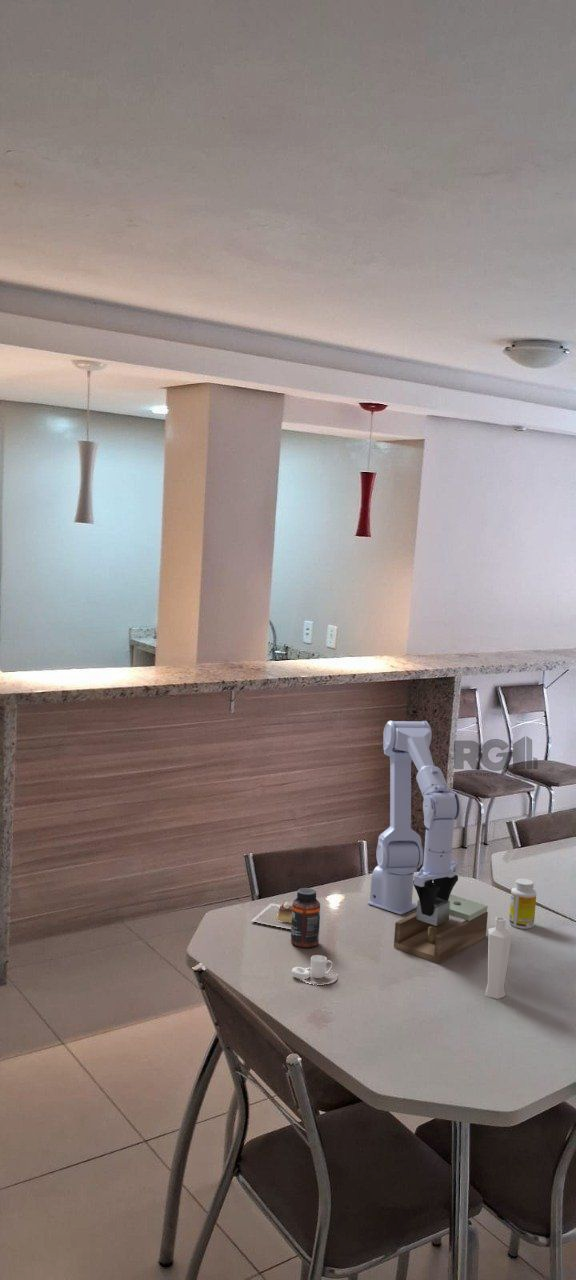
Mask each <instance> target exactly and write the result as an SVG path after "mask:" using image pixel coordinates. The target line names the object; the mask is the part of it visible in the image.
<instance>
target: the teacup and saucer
mask: <svg viewBox="0 0 576 1280" xmlns="http://www.w3.org/2000/svg"><path fill="white" fill-rule="evenodd" d="M327 958H328V957H326V956H325V955H322V954H321V955H320V954H316V955H314V954H313V955H312V956H311V957H310V966H309V967H301V966H294V967H293V968H292V969H291V975H292V976H293V977H294V978H296V979H299V980H300V979H301V980H302V979H306V980H308V979H309V978H310V977H311V976H313V977H314V979H315V978H321V979H323V978H324V977H325V976H326V975H327V974H328V972H329V971H330V970H331V971H332V968H333V961H331V960H329V959H327ZM328 963H330V964H331V965H330V967H329V968H328V969H329V970H328V971H327V972H325V970H326V969H327V964H328ZM309 968H310V969H311V971H308V970H307V969H309ZM336 975H337V976H338V974H337V973H336ZM313 977H312V978H313ZM322 977H323V978H322ZM301 980H300V981H301ZM302 981H303V982H302ZM302 981H301V982H302V983H304V982H305V981H304V980H302ZM307 983H309V982H305V984H307ZM310 984H311V983H309V984H308V985H310ZM317 985H318V984H317ZM317 985H316V986H317ZM323 985H324V984H323ZM312 986H315V985H314V984H313V985H312Z"/></svg>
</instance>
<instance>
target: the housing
mask: <svg viewBox="0 0 576 1280" xmlns="http://www.w3.org/2000/svg"><path fill="white" fill-rule="evenodd" d="M488 913H489V912H488V911H487V912H485V913H483V914H482V915H480V916H478V917H476V918H474V919H472V920H471V921H467V920H463V921H461V922H460V921H456V920H454V919H450V918H449V920H447V921H445V922H443V923H441V924H439V925H438V926H435V925H432V924H429V923H426V922H423V921H421V920H418V919H416V914H417V911H416V912H414V913H411V914H410V915H408V916H406V917H403V918H401V919H399V920H397V921H395V924H394V939H393V940H394V941H393V948H395V949H397V950H399V951H402V952H405V953H409V954H411V955H414V956H416V957H418V958H419V957H420V958H421V959H425V960H426V961H430V962H433V963H436V964H438V965H439V964H441V963H442V962H444V961H446V960H448V959H450V958H451V957H453V956H454V955H457V954H458V953H459V952H461V951H463V950H465V949H467V948H469V947H470V946H472V945H473V944H475V943H478V942H479V941H480V940H482V939H484V938H486V937H487V930H488V929H487V928H488V915H489V914H488Z"/></svg>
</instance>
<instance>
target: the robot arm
mask: <svg viewBox="0 0 576 1280" xmlns="http://www.w3.org/2000/svg"><path fill="white" fill-rule="evenodd" d="M432 734H433V733H432V728H431V725H430V724H429V722H428V721H427V720H422V721H413V720H412V721H410V720H409V721H407V720H406V721H405V720H401V721H399V720H398V721H396V720H388V721H387V723H386V724H384V728H383V737H382V738H383V744H382V745H383V746H382V747H383V754H384V755H385V756H387V757H389V765H390V766H389V768H390V769H389V772H390V774H389V775H390V776H389V779H390V780H389V781H390V782H389V783H390V785H389V793H390V795H389V797H390V798H389V800H390V801H389V807H390V809H389V819H390V820H389V827H388V828H387V829H385V830H384V831H383V832H381V833H380V835H378V840H377V846H376V850H375V851H376V856H375V858H376V861H377V865H376V866H375V868H374V869H373V871H372V873H371V874H372V875H371V877H370V893H369V896H370V897H369V901H367V904H368V905H370V906H372V907H376V908H379V909H382V910H385V911H388V912H392V913H395V914H397V915H401V916H402V915H405V914H407V913H408V912H410V911H413V910H414V909H417V903H416V902H414V901H413V893H414V891H413V890H415V891H416V893H417V896H418V900H419V901H420V906H421V911H422V914H424V915H427V916H432V913H433V909H434V903H435V899H436V897H438V898H441V899H444V900H447V901H448V899H449V896H450V894H451V893H452V891H453V889H454V887H455V885H456V884H457V882H458V881H459V876H458V875H456V873H457V872H458V871H459V869H458V866H459V862H458V861H454V860H452V855H453V843H454V842H453V840H454V839H453V838H454V829H455V828H454V827H455V820H458V818H459V816H460V814H461V813H460V812H461V803H460V802H461V801H460V798H459V794H458V793H457V792H456V791H454V790H453V789H452V788H449V786H448V783H447V782H446V779H445V776H444V773H443V771H442V770H441V768H440V767H438V766H435V764H434V760H433V758H432V753H431V749H430V746H431V742H432V737H433V736H432ZM412 762H413V763H414V765H415V768H416V769H417V771H418V772H417V774H416V776H415V777H416V778H415V780H416V782H417V784H418V788H419V790H420V793H421V795H422V797H423V801H422V812H423V824H424V826H425V837H424V848H423V845H422V837H421V836H420V835H419V834H418V833H417V832H416V831H414V830H413V829H412ZM420 867H421V868H420ZM418 869H420V870H419V871H418ZM415 873H417V874H415ZM414 888H415V889H414Z"/></svg>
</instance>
